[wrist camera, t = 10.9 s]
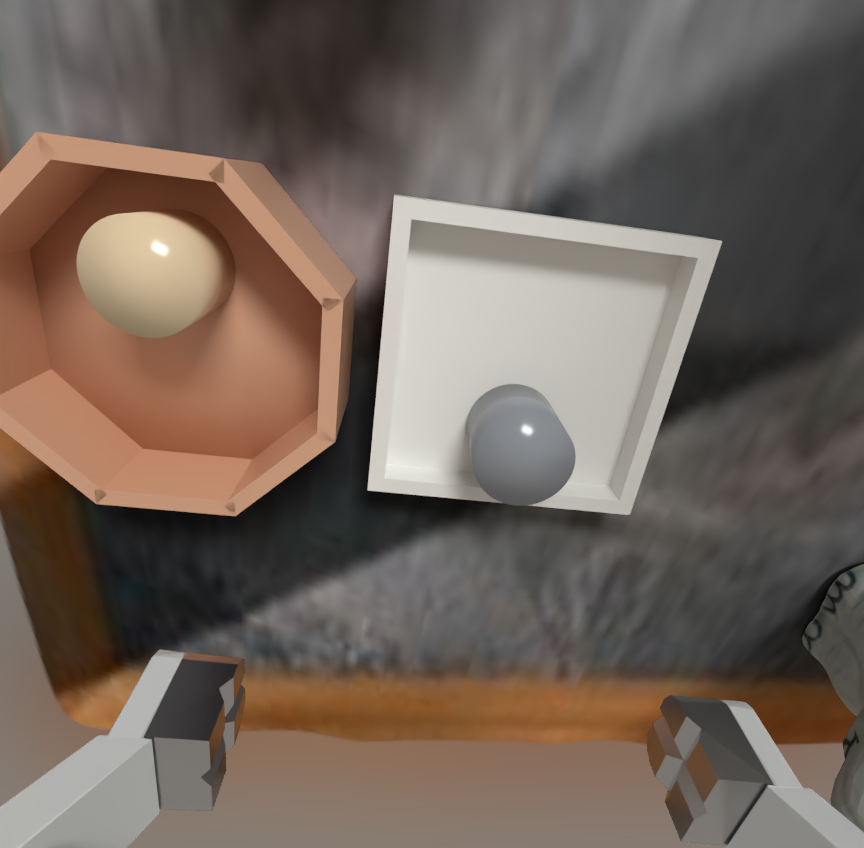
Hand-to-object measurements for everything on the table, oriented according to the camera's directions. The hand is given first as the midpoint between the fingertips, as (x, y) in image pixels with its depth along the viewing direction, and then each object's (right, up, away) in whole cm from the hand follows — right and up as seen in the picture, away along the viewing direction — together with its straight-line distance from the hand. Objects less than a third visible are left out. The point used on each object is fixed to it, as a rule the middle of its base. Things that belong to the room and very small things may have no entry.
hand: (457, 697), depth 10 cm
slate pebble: (+4, +5, +17) cm, 18 cm away
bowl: (-12, +10, +16) cm, 22 cm away
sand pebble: (-12, +12, +13) cm, 22 cm away
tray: (+4, +9, +17) cm, 19 cm away
